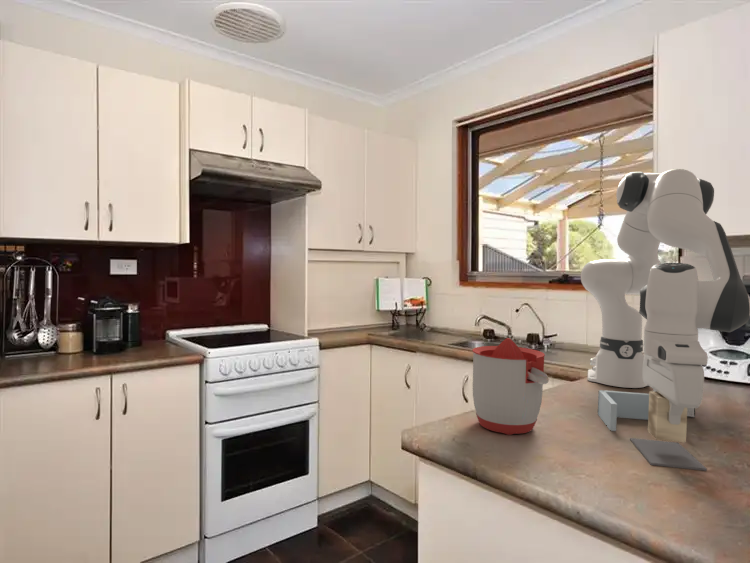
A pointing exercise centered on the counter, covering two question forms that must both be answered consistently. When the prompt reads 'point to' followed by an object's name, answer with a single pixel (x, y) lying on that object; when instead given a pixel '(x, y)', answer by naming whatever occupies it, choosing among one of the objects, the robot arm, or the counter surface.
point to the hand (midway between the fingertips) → (667, 418)
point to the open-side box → (622, 406)
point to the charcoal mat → (667, 454)
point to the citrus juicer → (508, 386)
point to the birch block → (664, 420)
